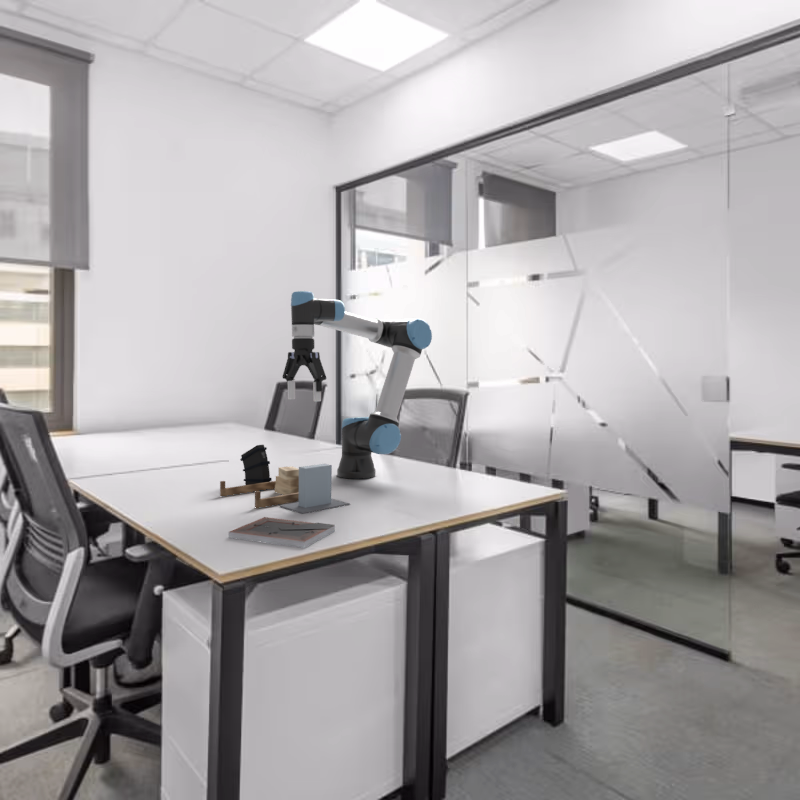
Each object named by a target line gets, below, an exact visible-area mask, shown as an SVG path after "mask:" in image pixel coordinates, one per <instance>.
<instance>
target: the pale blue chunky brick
mask: <svg viewBox="0 0 800 800" xmlns="http://www.w3.org/2000/svg"><path fill="white" fill-rule="evenodd" d="M332 466H333V465H332V464H328V463H319V464H312V465H304V466H298V469H299V501H298V502H299V506H301V507H304V508H307V507H312V506H318V505H323V504H328V503H331V498H332V477H333V475H332V472H333V471H332V469H333V467H332Z"/></svg>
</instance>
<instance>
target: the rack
mask: <svg viewBox="0 0 800 800" xmlns="http://www.w3.org/2000/svg"><path fill="white" fill-rule="evenodd" d="M275 485H276V480H272V481H270V482H264V483H257V484H250V485H238V486H232V487H231V486H230V487H226V481H225V480H220V481H219V491H220V492H219V496H225V497H228V496H227V495H232V496H234V495H233V494H238V495H241V494H240V493H245V494H248V493H247V492H251V493H254V508H255V507H256V508H255V509H260V508H259V507H263V508H267V507H266V506H269V507H273V506H272V505H274V506H278V504H280V505H285V504H290V503H296V501H297V502H299V492H298V493H292V494H286V495H281V494H279V495H275V496H269V497H263V498H261V497H262V496H261V492H262V491H259V490H264V491H267V490H266V489H270V490H275V489H274V488H275ZM253 491H256V492H253ZM284 503H285V504H284Z"/></svg>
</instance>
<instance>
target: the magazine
mask: <svg viewBox="0 0 800 800" xmlns="http://www.w3.org/2000/svg"><path fill="white" fill-rule="evenodd" d="M267 449H268V447H267V446H265V444H257V445H255V446H254V447H252V448H250V449H249V450H247V451H245V452H244V453H243V454H241V455H240V457H241V458H240V462H242V463H243V464H242V465H243V469H242V472H244V479H243V482H244V484H245V485H250V484H257V483H264V482H271V481H273V479H272V477H271V476H270V475H271V474H270V473H271V472H270V466H269V465H270V464H271V462H270V460H268V455H267V452H266V450H267Z"/></svg>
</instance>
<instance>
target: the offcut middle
mask: <svg viewBox="0 0 800 800" xmlns="http://www.w3.org/2000/svg"><path fill="white" fill-rule="evenodd" d="M275 481H276V485H277V486H281V487H284V488H287V489H296V488H299V479H290V480H285V479H283V478H281V477H279V475H275Z"/></svg>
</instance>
